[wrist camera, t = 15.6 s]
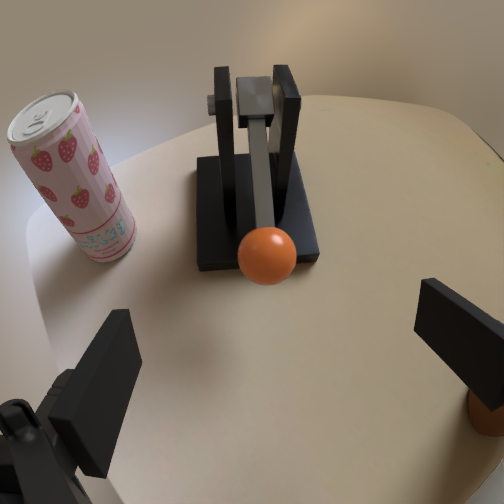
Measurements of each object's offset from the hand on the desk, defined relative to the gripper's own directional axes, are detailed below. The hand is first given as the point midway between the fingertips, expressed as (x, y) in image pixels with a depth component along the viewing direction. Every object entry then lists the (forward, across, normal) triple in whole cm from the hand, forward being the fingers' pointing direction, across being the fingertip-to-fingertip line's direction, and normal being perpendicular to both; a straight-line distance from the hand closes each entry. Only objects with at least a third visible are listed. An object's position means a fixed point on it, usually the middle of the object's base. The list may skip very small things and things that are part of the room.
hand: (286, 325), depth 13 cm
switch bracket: (+18, 0, +2) cm, 18 cm away
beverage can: (+17, -13, +1) cm, 22 cm away
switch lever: (+10, 0, +5) cm, 11 cm away
